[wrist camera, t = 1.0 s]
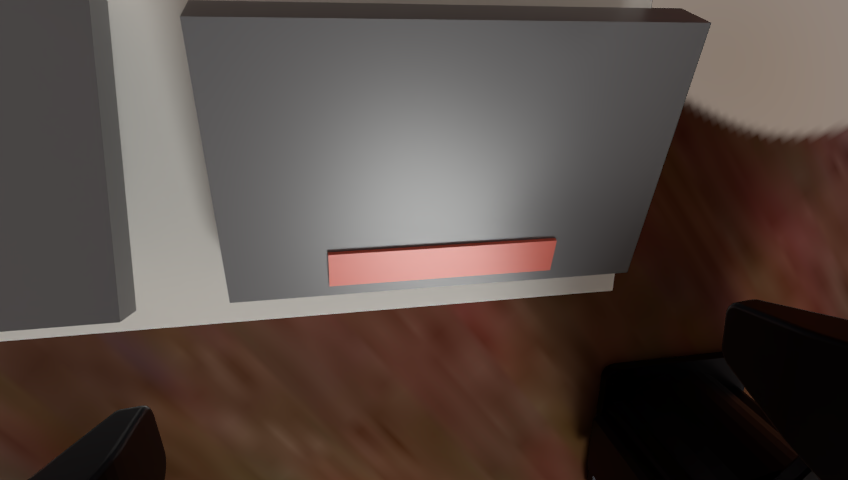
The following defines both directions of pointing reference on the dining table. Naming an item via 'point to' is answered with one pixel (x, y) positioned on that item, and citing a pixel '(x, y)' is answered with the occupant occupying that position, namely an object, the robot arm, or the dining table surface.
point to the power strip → (191, 198)
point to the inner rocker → (431, 139)
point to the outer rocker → (61, 169)
